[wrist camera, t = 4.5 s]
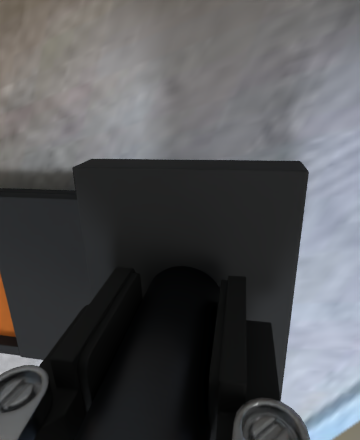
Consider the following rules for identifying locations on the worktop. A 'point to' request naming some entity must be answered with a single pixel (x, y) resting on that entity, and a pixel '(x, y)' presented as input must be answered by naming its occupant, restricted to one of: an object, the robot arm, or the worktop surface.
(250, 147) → the worktop surface
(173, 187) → the black pad
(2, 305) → the base pad
